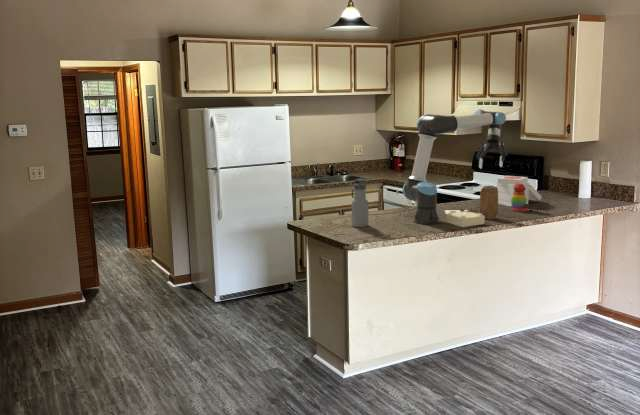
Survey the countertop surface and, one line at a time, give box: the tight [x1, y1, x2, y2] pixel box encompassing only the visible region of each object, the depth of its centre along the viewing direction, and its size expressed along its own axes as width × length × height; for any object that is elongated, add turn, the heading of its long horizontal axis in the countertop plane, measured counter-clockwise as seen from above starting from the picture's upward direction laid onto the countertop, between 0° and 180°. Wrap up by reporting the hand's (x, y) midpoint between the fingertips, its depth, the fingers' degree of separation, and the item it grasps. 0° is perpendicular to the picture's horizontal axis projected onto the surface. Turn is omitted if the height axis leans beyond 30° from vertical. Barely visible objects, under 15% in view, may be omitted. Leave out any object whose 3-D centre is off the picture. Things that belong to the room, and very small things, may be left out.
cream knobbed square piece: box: [445, 209, 485, 228], centre depth 366 cm, size 16×16×6 cm
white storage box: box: [496, 175, 542, 207], centre depth 424 cm, size 19×30×18 cm, turn 119°
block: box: [479, 185, 499, 221], centre depth 376 cm, size 11×8×20 cm
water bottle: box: [351, 178, 369, 228], centre depth 363 cm, size 10×10×28 cm
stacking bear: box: [510, 183, 529, 213], centre depth 399 cm, size 11×10×18 cm
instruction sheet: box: [444, 209, 462, 215], centre depth 397 cm, size 10×14×1 cm
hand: (490, 167), depth 387 cm, fingers open, 13 cm apart
